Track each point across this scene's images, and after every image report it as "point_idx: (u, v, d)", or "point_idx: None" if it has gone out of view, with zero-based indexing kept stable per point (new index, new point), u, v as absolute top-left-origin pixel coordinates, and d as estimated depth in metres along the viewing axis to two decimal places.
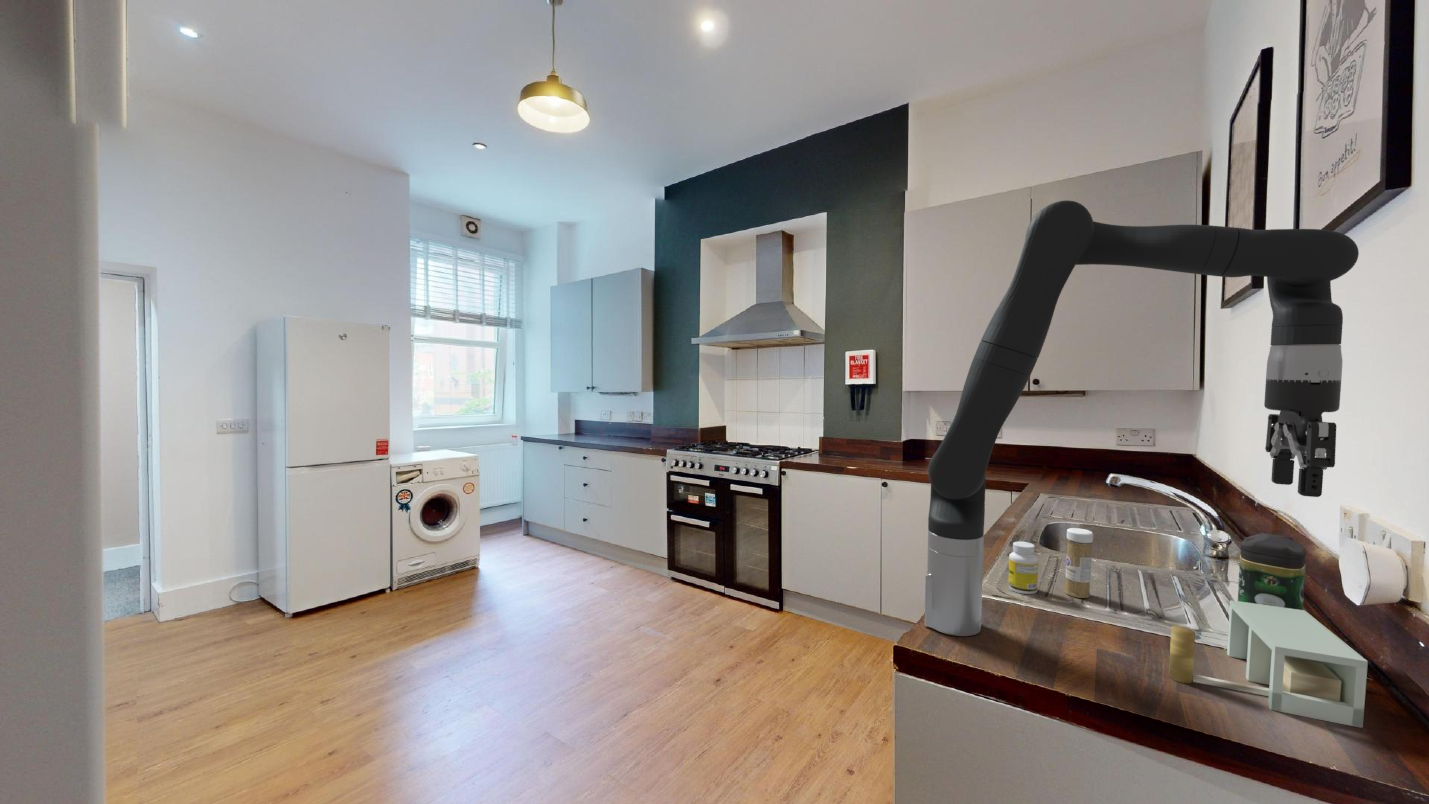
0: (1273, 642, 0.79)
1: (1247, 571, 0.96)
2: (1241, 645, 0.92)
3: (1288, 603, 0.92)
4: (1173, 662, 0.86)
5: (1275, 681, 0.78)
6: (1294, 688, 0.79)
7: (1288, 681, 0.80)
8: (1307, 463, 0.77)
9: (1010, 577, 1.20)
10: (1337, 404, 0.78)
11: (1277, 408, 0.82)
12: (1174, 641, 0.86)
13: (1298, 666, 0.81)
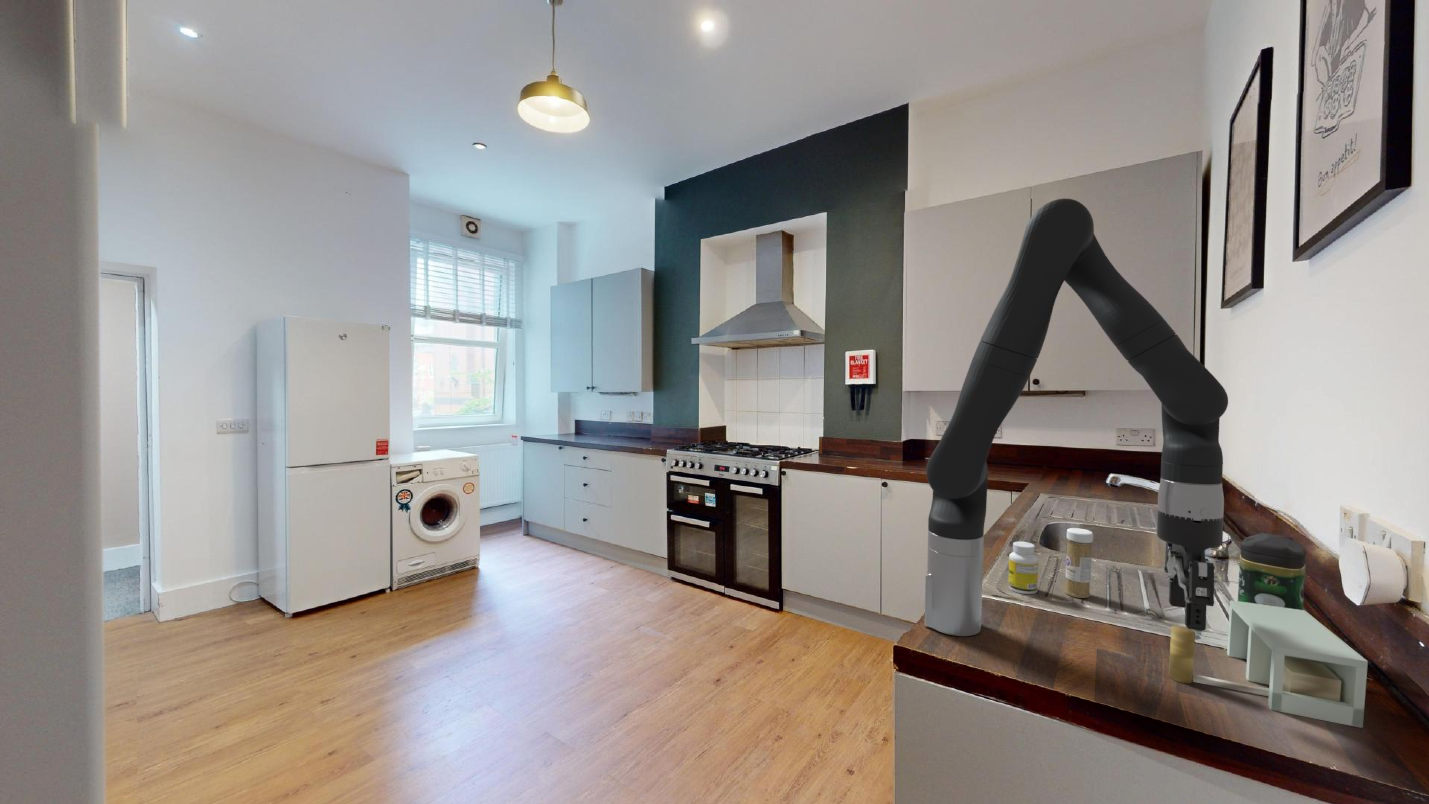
0: (1273, 642, 0.79)
1: (1247, 571, 0.95)
2: (1241, 645, 0.92)
3: (1288, 603, 0.92)
4: (1173, 662, 0.86)
5: (1275, 681, 0.78)
6: (1294, 688, 0.79)
7: (1288, 681, 0.80)
8: (1189, 600, 0.80)
9: (1010, 577, 1.20)
10: (1219, 541, 0.82)
11: (1166, 540, 0.85)
12: (1174, 641, 0.86)
13: (1298, 666, 0.81)
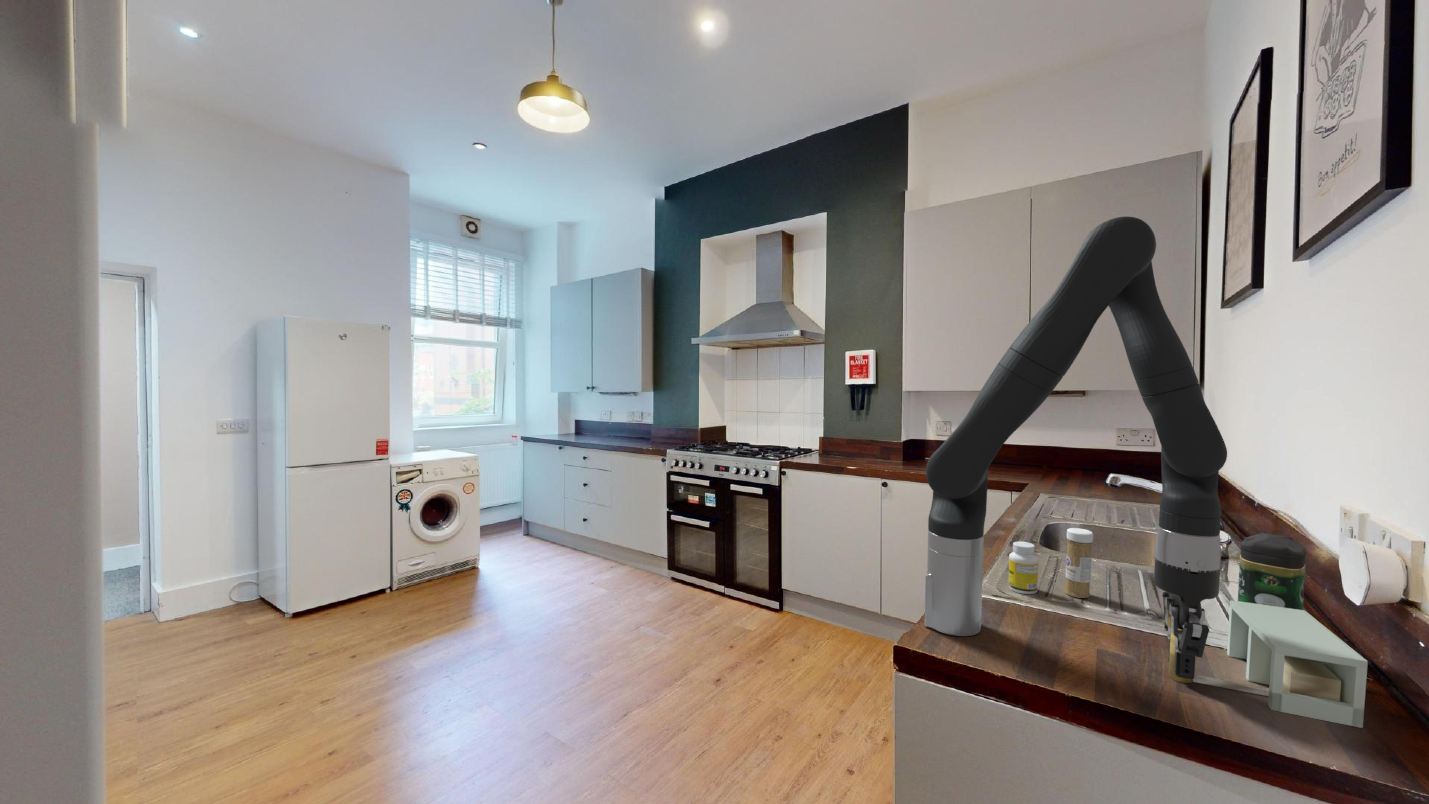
0: (1273, 642, 0.79)
1: (1247, 571, 0.96)
2: (1241, 645, 0.92)
3: (1288, 603, 0.92)
4: (1173, 662, 0.86)
5: (1275, 681, 0.78)
6: (1294, 688, 0.79)
7: (1288, 681, 0.80)
8: (1179, 650, 0.83)
9: (1010, 577, 1.20)
10: (1215, 592, 0.82)
11: (1162, 589, 0.85)
12: (1174, 641, 0.86)
13: (1298, 666, 0.81)
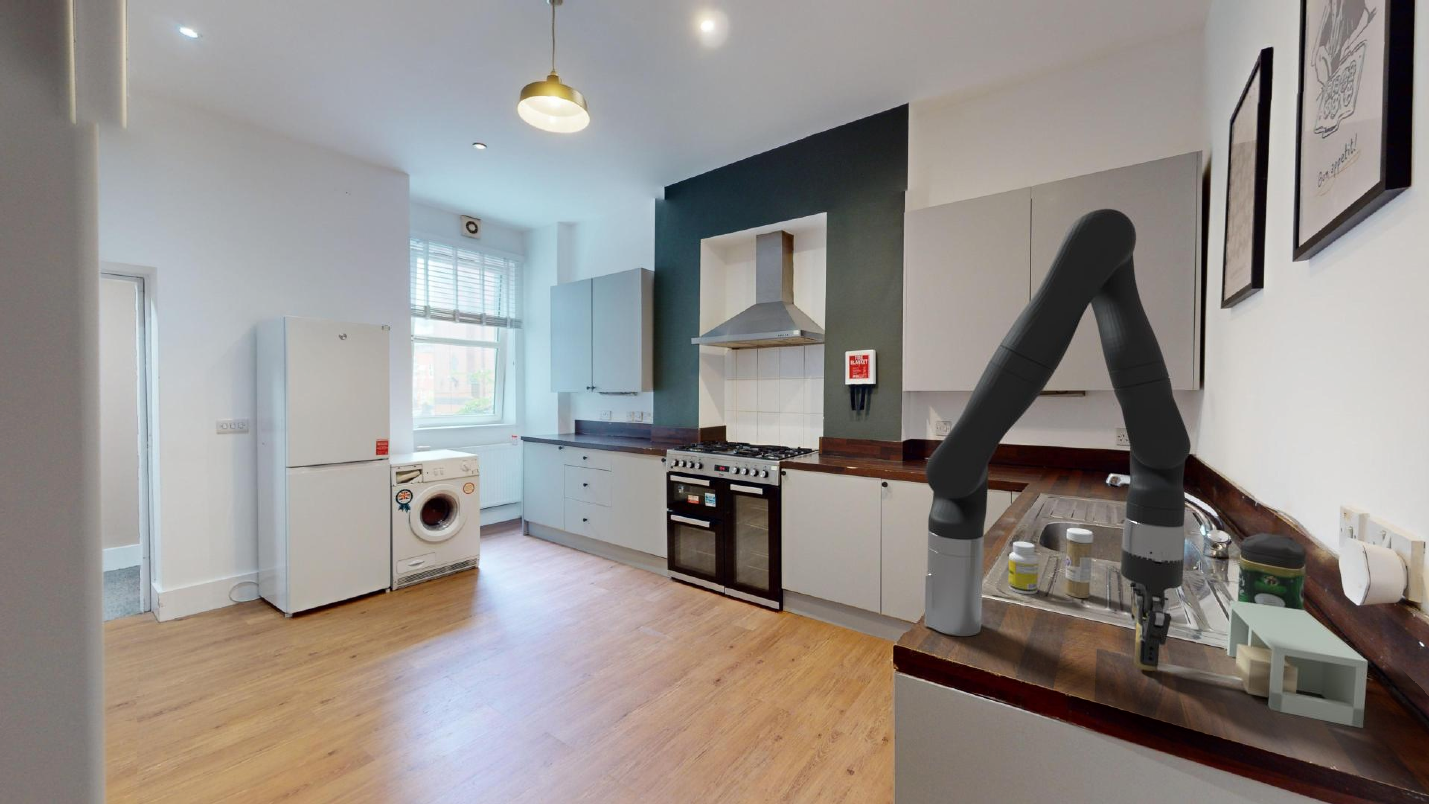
0: (1273, 642, 0.79)
1: (1247, 571, 0.96)
2: None
3: (1288, 603, 0.92)
4: (1138, 650, 0.88)
5: (1275, 681, 0.78)
6: (1253, 675, 0.81)
7: (1248, 668, 0.82)
8: (1143, 638, 0.85)
9: (1010, 577, 1.20)
10: (1178, 581, 0.84)
11: (1128, 579, 0.87)
12: (1139, 629, 0.88)
13: (1257, 654, 0.83)
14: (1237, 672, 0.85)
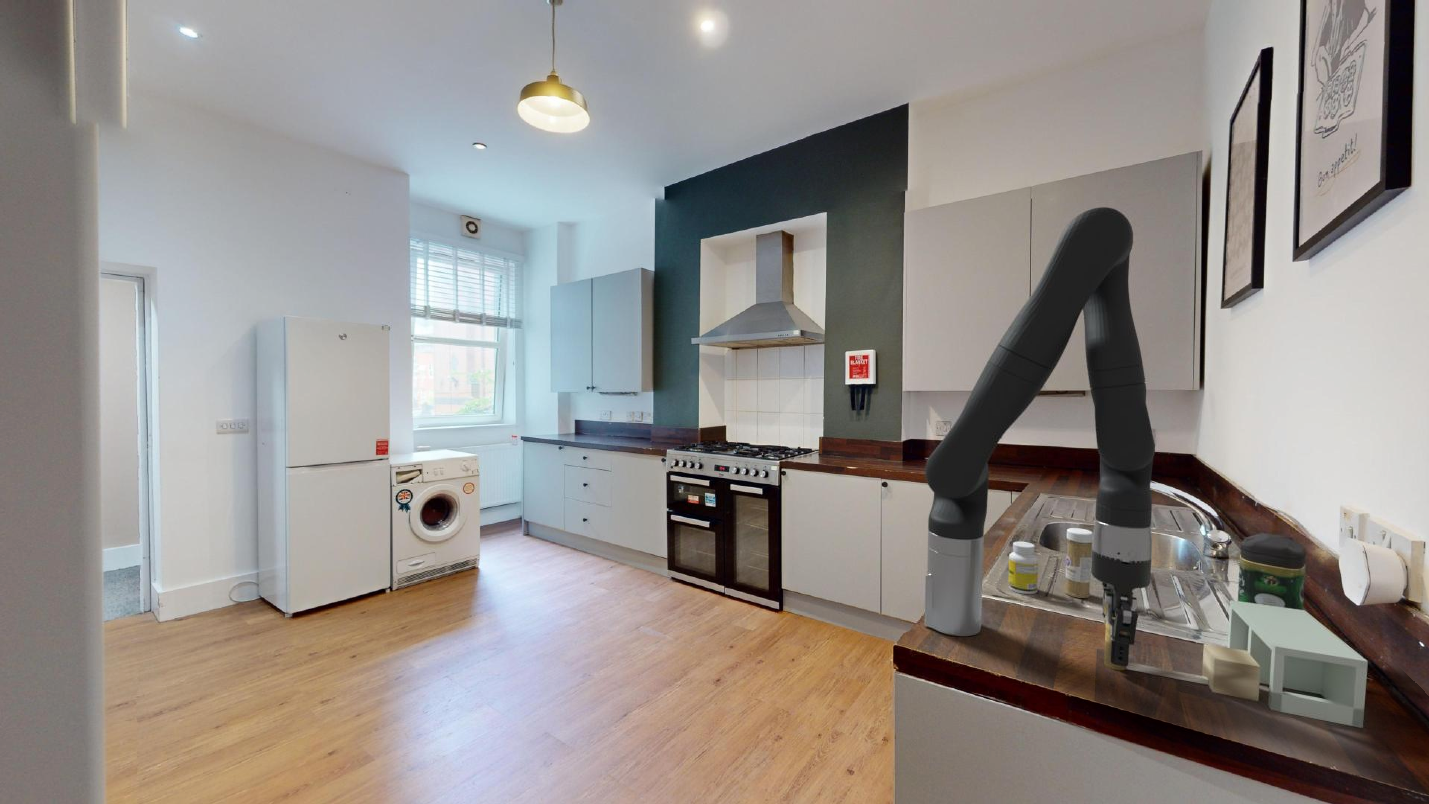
0: (1273, 642, 0.79)
1: (1247, 571, 0.96)
2: (1241, 645, 0.92)
3: (1288, 603, 0.92)
4: (1107, 650, 0.90)
5: (1275, 681, 0.78)
6: (1218, 674, 0.83)
7: (1213, 667, 0.83)
8: (1113, 638, 0.86)
9: (1010, 577, 1.20)
10: (1146, 581, 0.86)
11: (1098, 579, 0.89)
12: (1108, 630, 0.90)
13: (1222, 653, 0.84)
14: (1204, 671, 0.87)
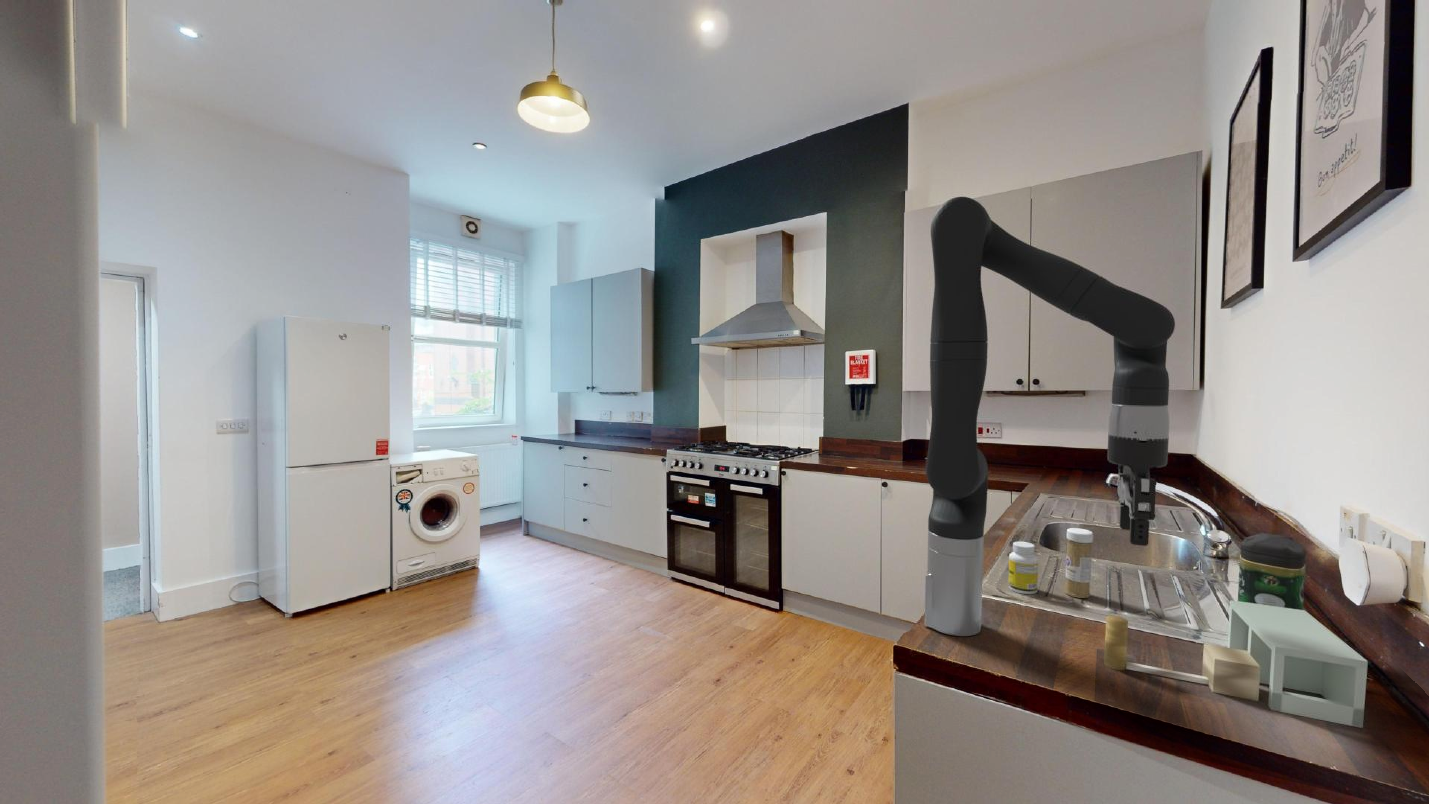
0: (1273, 642, 0.79)
1: (1247, 571, 0.96)
2: (1241, 645, 0.92)
3: (1288, 603, 0.92)
4: (1107, 650, 0.90)
5: (1275, 681, 0.78)
6: (1218, 674, 0.83)
7: (1213, 667, 0.83)
8: (1133, 515, 0.84)
9: (1010, 577, 1.20)
10: (1163, 460, 0.85)
11: (1114, 462, 0.89)
12: (1108, 630, 0.90)
13: (1222, 653, 0.84)
14: (1204, 671, 0.87)
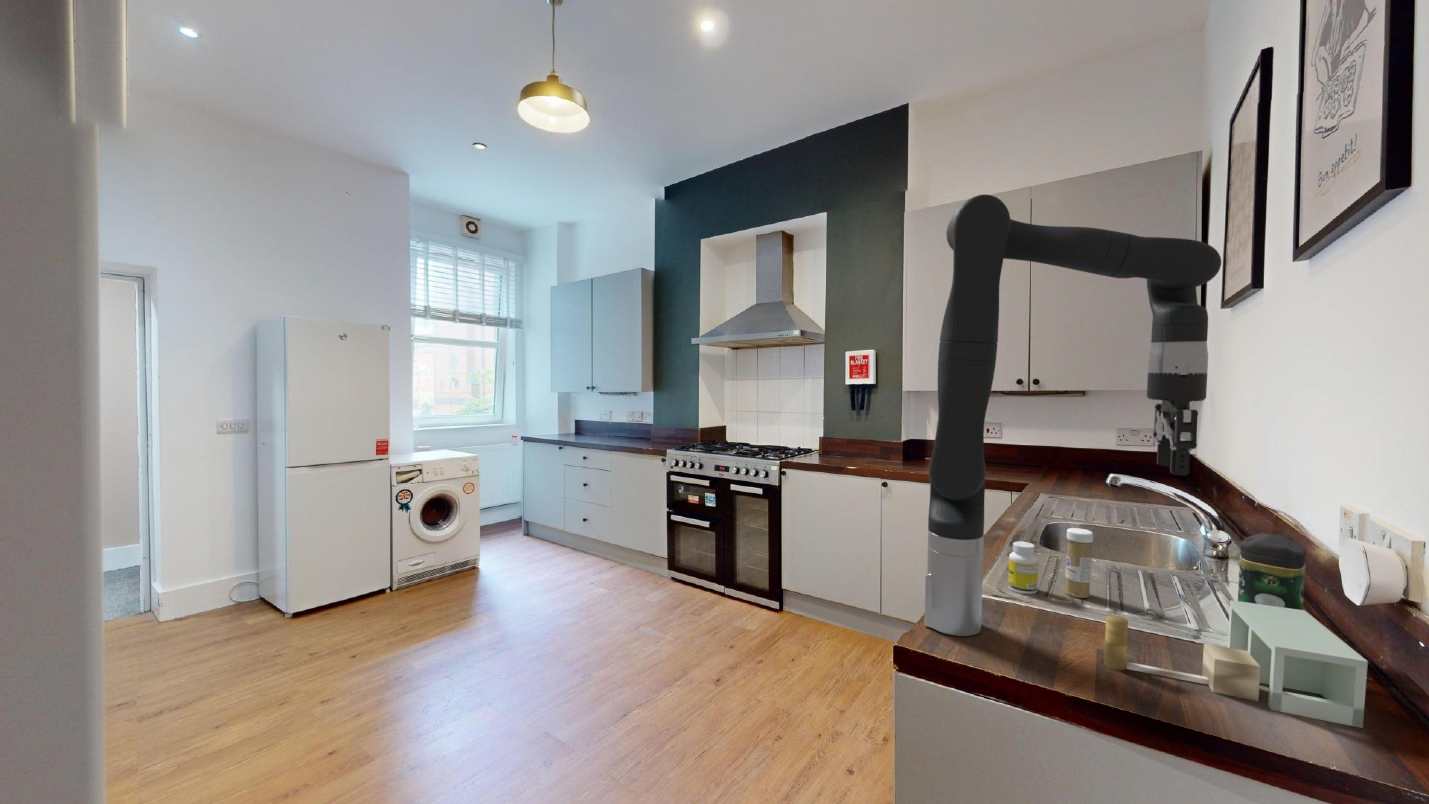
0: (1273, 642, 0.79)
1: (1247, 571, 0.95)
2: (1241, 645, 0.92)
3: (1288, 603, 0.92)
4: (1107, 650, 0.90)
5: (1275, 681, 0.78)
6: (1218, 674, 0.83)
7: (1213, 667, 0.83)
8: (1174, 445, 0.88)
9: (1010, 577, 1.20)
10: (1202, 394, 0.89)
11: (1154, 398, 0.93)
12: (1108, 630, 0.90)
13: (1222, 653, 0.84)
14: (1204, 671, 0.87)
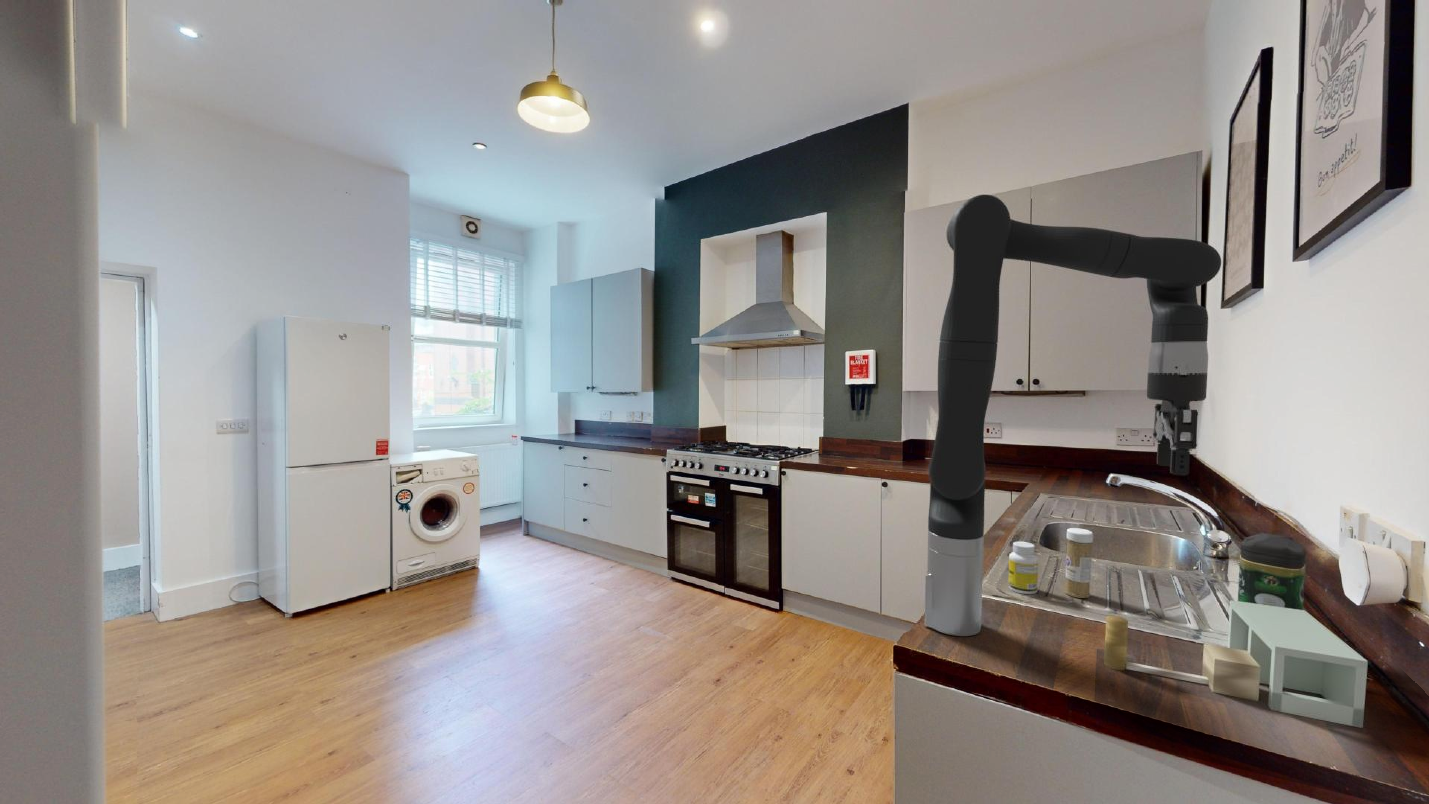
0: (1273, 642, 0.79)
1: (1247, 571, 0.96)
2: (1241, 645, 0.92)
3: (1288, 603, 0.92)
4: (1107, 650, 0.90)
5: (1275, 681, 0.78)
6: (1217, 674, 0.83)
7: (1213, 667, 0.83)
8: (1174, 445, 0.88)
9: (1010, 577, 1.20)
10: (1202, 394, 0.89)
11: (1154, 398, 0.93)
12: (1108, 630, 0.90)
13: (1222, 653, 0.84)
14: (1204, 671, 0.87)
